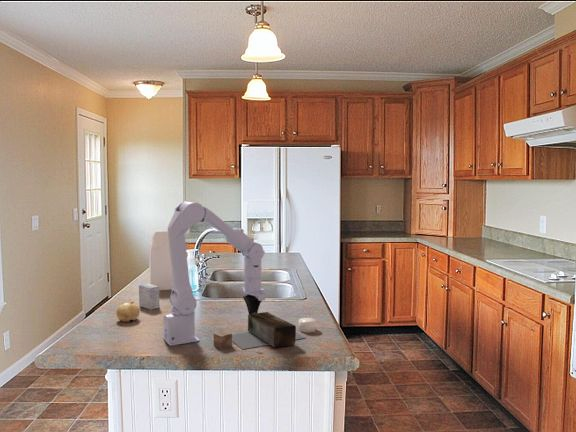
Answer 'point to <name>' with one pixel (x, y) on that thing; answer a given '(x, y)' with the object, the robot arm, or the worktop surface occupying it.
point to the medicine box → (149, 296)
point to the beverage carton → (271, 329)
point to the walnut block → (222, 339)
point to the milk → (160, 261)
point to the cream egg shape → (307, 325)
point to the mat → (252, 340)
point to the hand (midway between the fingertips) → (252, 316)
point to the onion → (127, 312)
